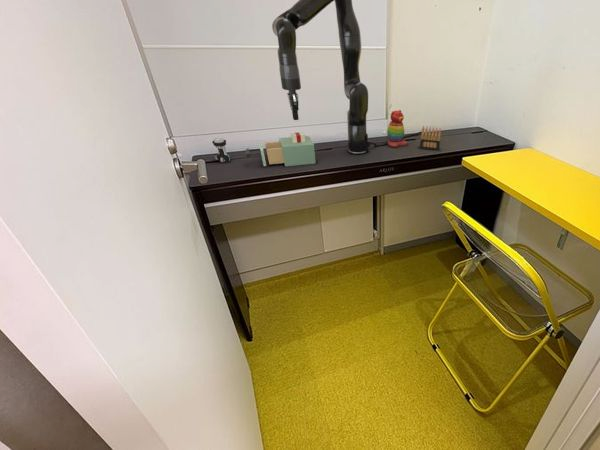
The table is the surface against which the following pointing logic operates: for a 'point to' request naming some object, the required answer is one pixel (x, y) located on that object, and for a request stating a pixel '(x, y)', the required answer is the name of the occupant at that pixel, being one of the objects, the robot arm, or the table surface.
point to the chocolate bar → (298, 137)
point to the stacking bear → (396, 130)
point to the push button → (221, 150)
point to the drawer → (269, 152)
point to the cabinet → (298, 152)
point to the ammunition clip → (430, 139)
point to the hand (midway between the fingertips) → (295, 119)
